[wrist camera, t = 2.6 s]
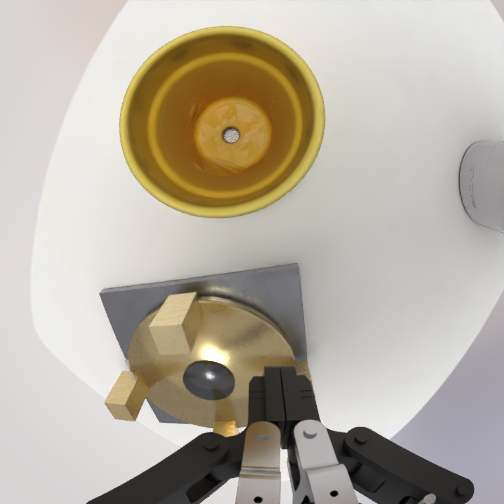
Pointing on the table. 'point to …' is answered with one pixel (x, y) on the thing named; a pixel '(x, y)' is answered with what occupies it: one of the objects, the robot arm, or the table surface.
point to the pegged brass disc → (200, 361)
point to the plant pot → (222, 122)
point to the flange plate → (222, 286)
